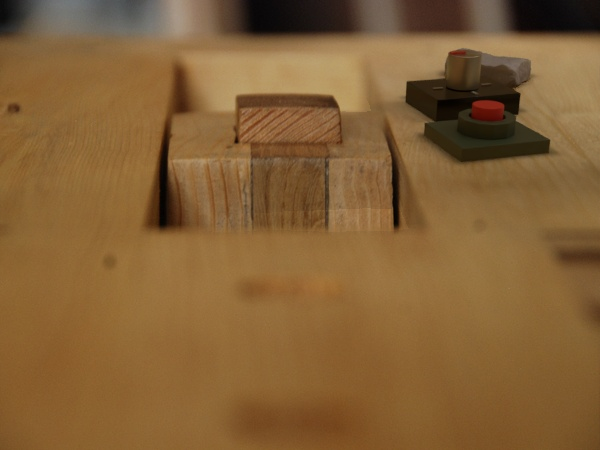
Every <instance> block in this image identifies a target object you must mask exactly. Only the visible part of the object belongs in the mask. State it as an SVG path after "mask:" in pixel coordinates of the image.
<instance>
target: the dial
mask: <svg viewBox="0 0 600 450" xmlns="http://www.w3.org/2000/svg"><path fill="white" fill-rule="evenodd" d="M471 50H472V49H471ZM471 50H457V49H454V50H450V51H448V53H447V56H448V63H447V76H446V77H445V78H446V87H447V88H450V89H453V90H460V91H470V90H476V89H478V88H479V80H480V70H481V59H482V54H481V53H480V52H477V51H478V50H476V51H471Z"/></svg>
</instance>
